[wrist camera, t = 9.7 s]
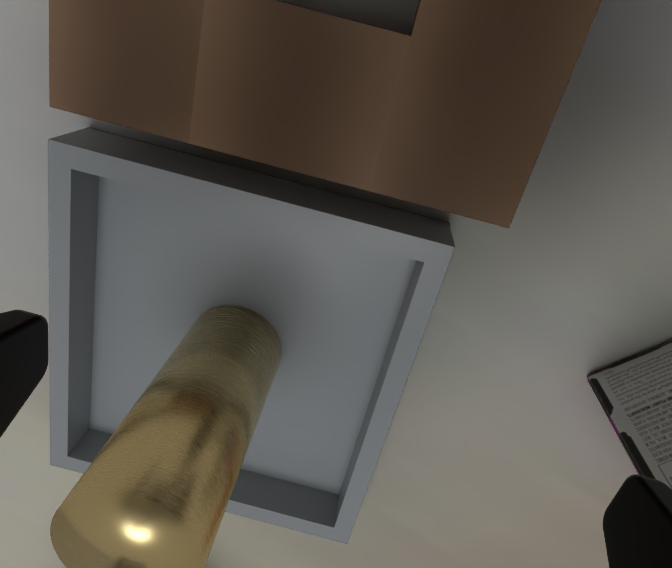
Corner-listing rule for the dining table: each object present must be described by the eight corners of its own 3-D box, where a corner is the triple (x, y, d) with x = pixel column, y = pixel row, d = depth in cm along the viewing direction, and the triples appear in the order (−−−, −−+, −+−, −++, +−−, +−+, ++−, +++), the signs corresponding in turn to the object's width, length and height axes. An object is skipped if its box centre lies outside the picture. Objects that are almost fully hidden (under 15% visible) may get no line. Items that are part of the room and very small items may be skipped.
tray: (449, 223, 20) (455, 247, 18) (352, 500, 26) (347, 543, 24) (88, 127, 20) (47, 139, 18) (80, 428, 26) (50, 464, 24)
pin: (289, 318, 22) (211, 515, 13) (273, 395, 23) (193, 618, 14) (194, 294, 22) (49, 474, 13) (185, 373, 23) (50, 581, 14)
